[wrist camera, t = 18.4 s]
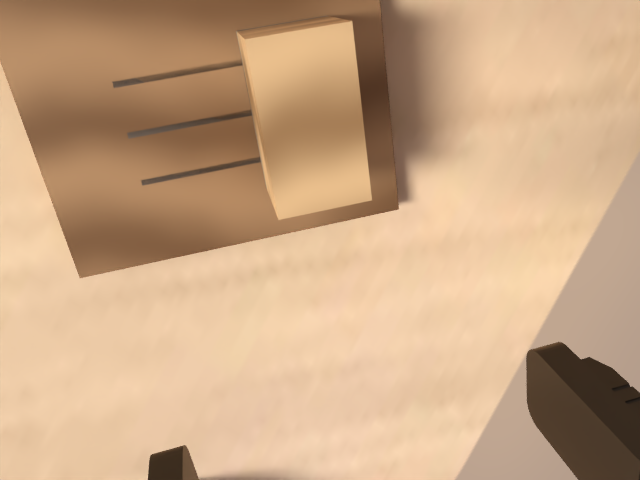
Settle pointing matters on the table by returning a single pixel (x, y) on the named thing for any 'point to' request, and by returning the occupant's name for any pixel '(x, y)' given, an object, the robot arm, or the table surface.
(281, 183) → the block
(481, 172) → the table surface
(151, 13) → the board
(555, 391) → the robot arm
